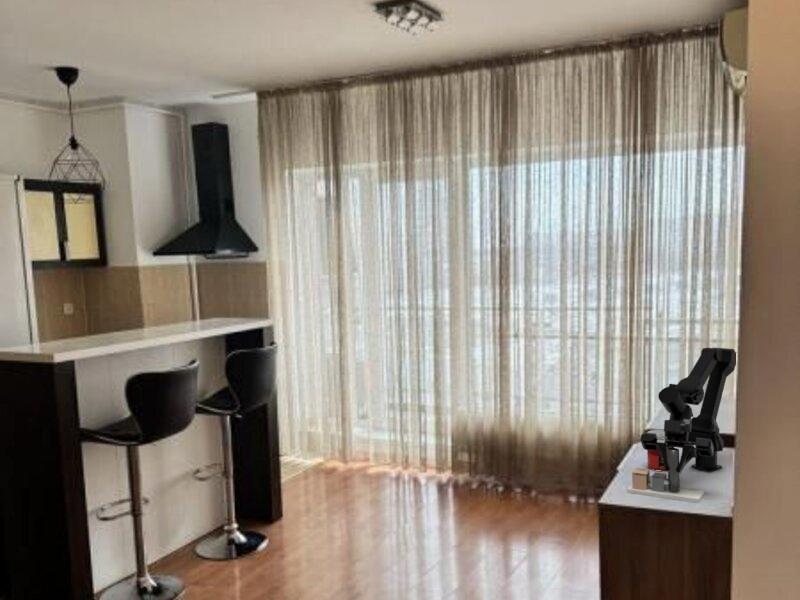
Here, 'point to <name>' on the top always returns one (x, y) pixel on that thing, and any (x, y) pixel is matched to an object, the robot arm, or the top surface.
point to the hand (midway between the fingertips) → (672, 471)
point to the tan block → (640, 478)
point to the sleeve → (658, 482)
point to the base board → (670, 494)
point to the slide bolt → (671, 471)
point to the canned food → (656, 454)
